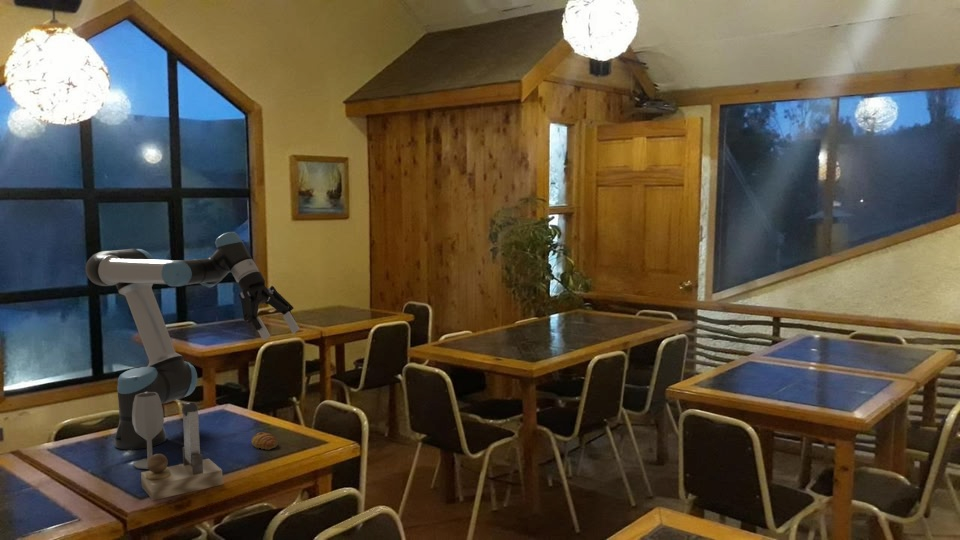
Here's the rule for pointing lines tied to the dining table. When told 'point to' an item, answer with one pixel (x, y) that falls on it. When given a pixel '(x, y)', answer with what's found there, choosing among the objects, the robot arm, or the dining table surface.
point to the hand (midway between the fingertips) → (282, 334)
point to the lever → (191, 431)
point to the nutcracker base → (179, 476)
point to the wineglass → (147, 421)
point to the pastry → (264, 441)
